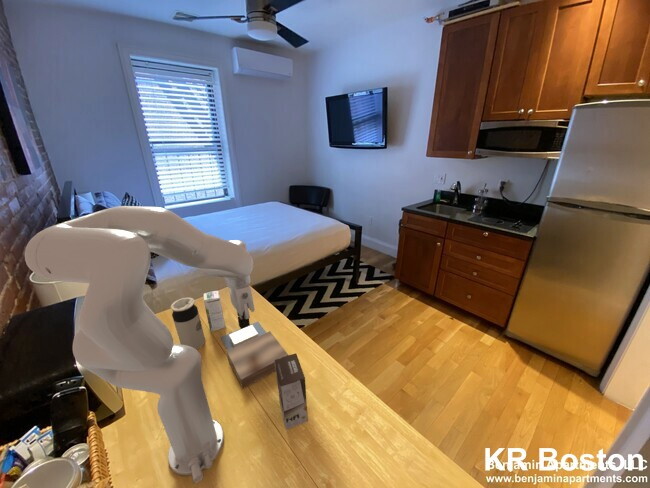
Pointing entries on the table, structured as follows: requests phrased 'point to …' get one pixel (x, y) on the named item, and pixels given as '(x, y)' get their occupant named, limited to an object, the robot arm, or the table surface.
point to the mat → (226, 338)
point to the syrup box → (214, 310)
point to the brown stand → (255, 358)
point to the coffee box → (291, 390)
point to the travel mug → (188, 323)
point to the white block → (243, 335)
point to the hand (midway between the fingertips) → (244, 326)
